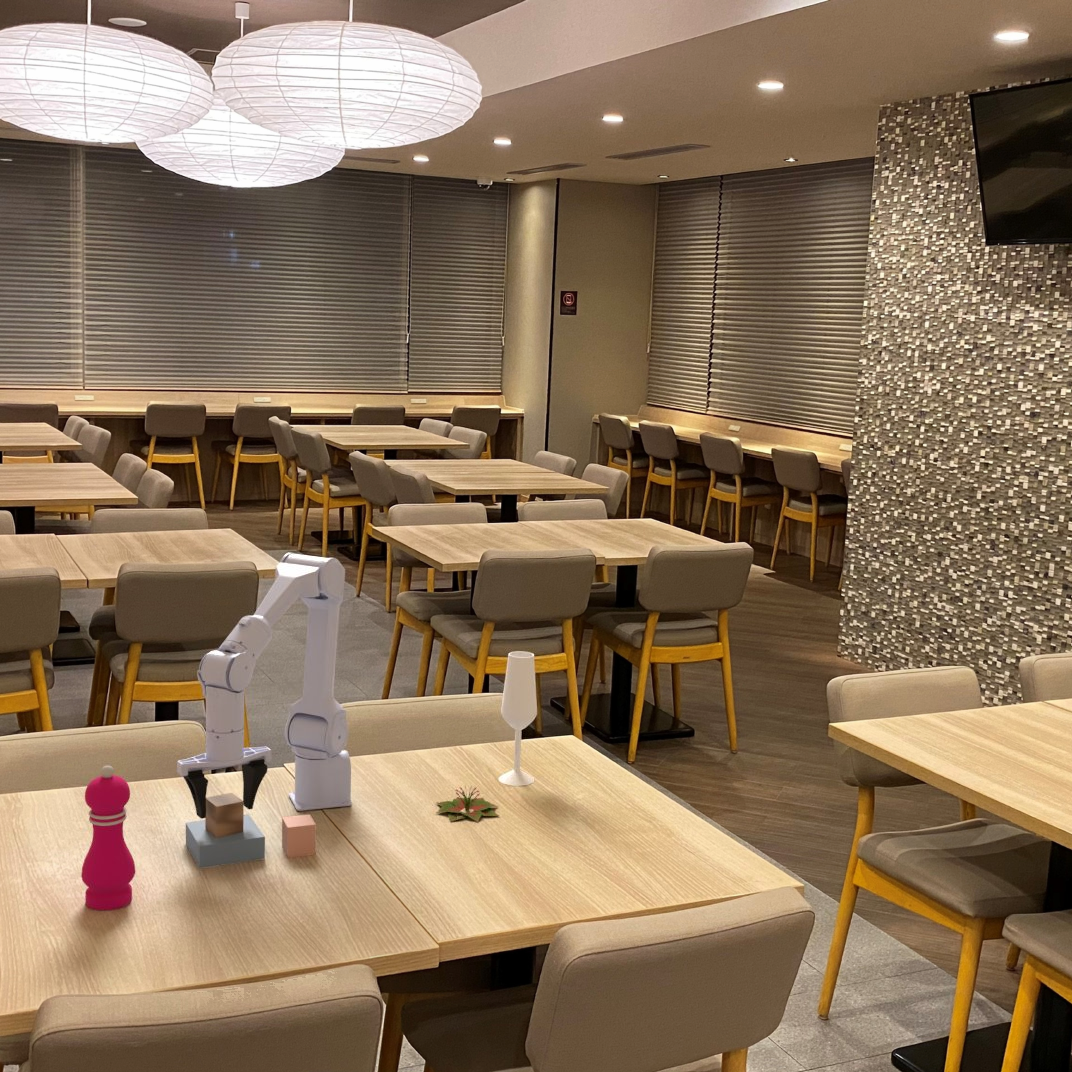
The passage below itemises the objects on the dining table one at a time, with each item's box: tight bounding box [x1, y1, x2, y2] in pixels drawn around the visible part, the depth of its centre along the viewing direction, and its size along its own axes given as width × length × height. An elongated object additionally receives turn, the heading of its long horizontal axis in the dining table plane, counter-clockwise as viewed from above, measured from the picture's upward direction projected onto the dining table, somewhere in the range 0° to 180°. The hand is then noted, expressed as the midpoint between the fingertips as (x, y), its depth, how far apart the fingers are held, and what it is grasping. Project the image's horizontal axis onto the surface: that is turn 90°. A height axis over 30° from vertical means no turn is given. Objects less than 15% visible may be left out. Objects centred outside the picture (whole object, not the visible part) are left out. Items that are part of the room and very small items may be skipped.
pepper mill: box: [80, 765, 136, 911], centre depth 176 cm, size 7×7×20 cm
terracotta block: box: [281, 814, 317, 859], centre depth 197 cm, size 4×4×5 cm
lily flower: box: [435, 785, 500, 823], centre depth 217 cm, size 12×12×5 cm
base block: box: [185, 813, 266, 870], centre depth 196 cm, size 10×10×4 cm
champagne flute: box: [498, 650, 538, 787], centre depth 232 cm, size 7×7×24 cm
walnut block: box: [204, 792, 245, 838], centre depth 195 cm, size 4×4×5 cm
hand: (224, 811), depth 195 cm, fingers open, 7 cm apart
